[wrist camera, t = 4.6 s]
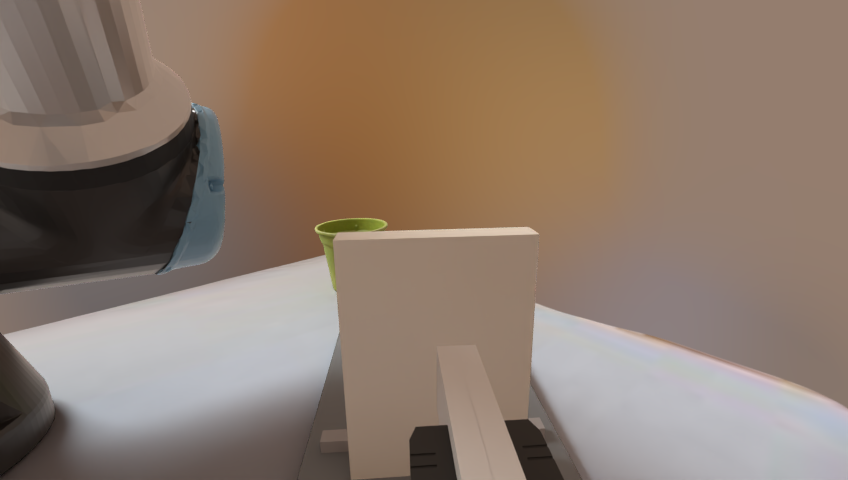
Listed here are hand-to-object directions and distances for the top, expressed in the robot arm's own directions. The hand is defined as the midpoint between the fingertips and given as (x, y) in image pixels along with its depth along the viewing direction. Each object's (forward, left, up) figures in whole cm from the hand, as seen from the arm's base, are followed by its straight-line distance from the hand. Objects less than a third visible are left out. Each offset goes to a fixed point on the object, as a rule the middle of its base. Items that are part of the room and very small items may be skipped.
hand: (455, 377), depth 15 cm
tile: (-5, +3, -10) cm, 11 cm away
